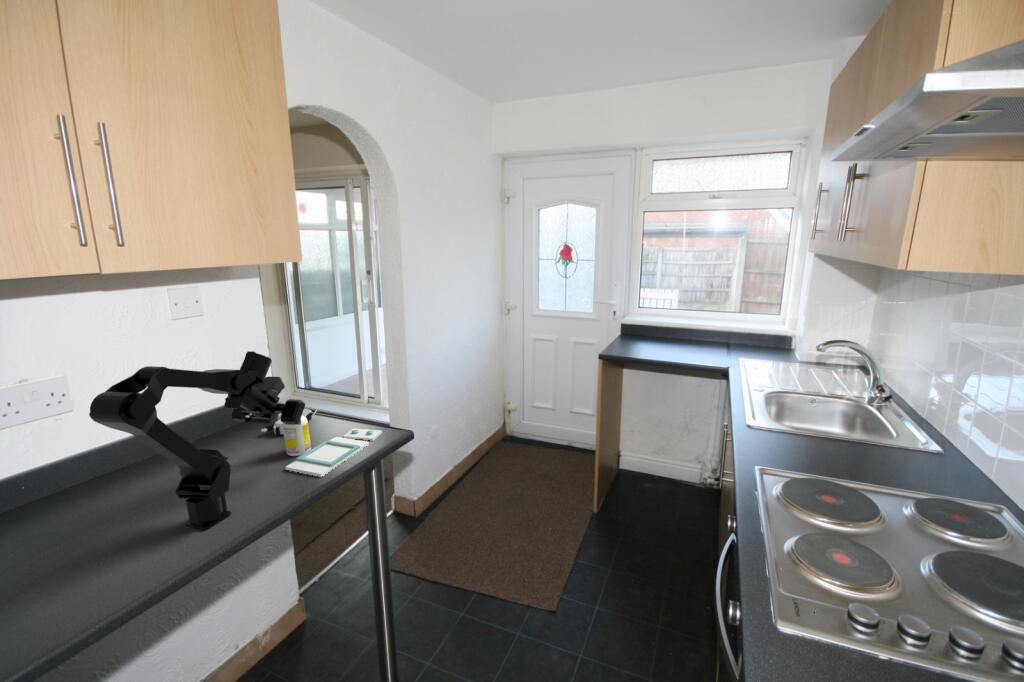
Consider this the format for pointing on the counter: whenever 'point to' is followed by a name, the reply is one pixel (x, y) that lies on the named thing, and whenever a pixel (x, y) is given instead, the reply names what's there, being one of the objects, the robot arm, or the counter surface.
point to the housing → (326, 456)
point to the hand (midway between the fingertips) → (285, 422)
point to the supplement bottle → (297, 438)
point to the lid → (363, 434)
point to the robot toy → (278, 425)
